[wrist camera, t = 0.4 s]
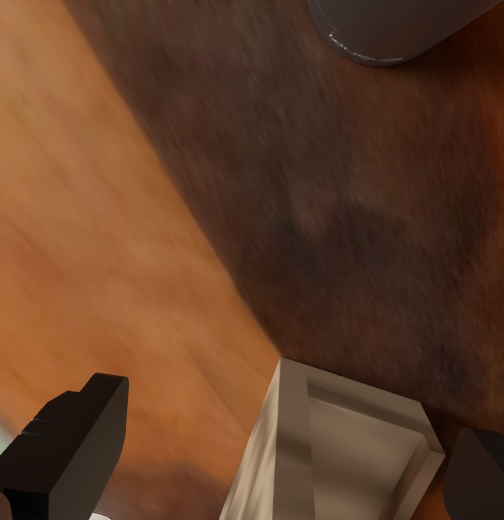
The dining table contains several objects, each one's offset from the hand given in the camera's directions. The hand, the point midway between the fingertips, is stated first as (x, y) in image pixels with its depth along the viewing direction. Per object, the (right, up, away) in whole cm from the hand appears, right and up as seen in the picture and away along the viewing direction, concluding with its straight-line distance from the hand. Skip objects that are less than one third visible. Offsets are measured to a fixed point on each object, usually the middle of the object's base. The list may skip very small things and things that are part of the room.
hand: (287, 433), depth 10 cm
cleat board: (+3, -16, +25) cm, 29 cm away
